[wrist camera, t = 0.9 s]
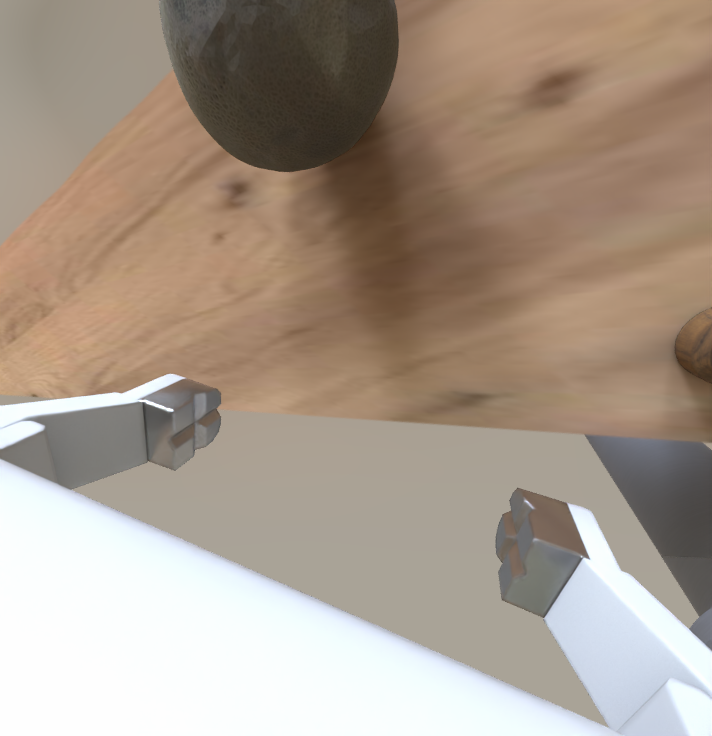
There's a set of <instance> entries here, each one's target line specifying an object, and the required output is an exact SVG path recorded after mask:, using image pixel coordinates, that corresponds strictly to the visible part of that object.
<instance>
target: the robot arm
mask: <svg viewBox="0 0 712 736" xmlns="http://www.w3.org/2000/svg"><path fill="white" fill-rule="evenodd" d="M220 404H221V393H220V392H219V391H218V389H216V388H213V387H210V386H207V385H204V384H202V383H199V382H196V381H193V380H190V379H187V378H185V377H181V376H178V375H175V374H167V375H165V376H162V377H160V378H158V379H155V380H153V381H151V382H149V383H146V384H144V385H142V386H139V387H137V388H135V389H132V390H130V391H128V392H125V393H123V394H120V393H109V394H100V395H91V396H82V397H74V398H65V399H56V400H47V401H39V402H30V403H21V404H12V405H4V406H0V736H712V650H711V649H710V648H708V647H707V646H706V645H705V644H704V643H703V642H702V641H701V640H700V639H699V638H698V637H697V636H696V635H695V634H693V633H692V632H691V631H690V630H689V629H688V628H687V627H686V626H685V625H684V624H683V623H682V622H680V621H679V620H678V619H677V618H676V617H675V616H674V615H673V614H672V613H671V612H670V611H669V610H668V609H667V608H666V607H664V606H663V605H662V604H661V603H660V602H659V601H658V600H657V599H656V598H655V597H654V596H653V595H652V594H651V593H649V592H648V591H647V590H646V589H645V588H644V587H643V586H642V585H641V584H640V583H639V582H638V581H636V579H634V578H633V577H632V576H631V575H630V574H628V573H625V572H622V571H621V570H620V567H619V566H618V564H617V562H616V559H615V557H614V556H613V553H612V551H611V549H610V547H609V545H608V543H607V541H606V539H605V537H604V535H603V533H602V531H601V529H600V527H599V526H598V523H597V521H596V519H595V517H594V515H593V513H592V512H591V511H590V510H589V509H587V508H584V507H580V506H577V505H574V504H570V503H567V502H562V501H559V500H556V499H552V498H549V497H546V496H543V495H539V494H536V493H533V492H530V491H526V490H523V489H520V488H517V489H516V490H515V491H514V492H513V494H512V496H511V498H510V506H511V511H509V512H507V513H505V514H503V515H502V518H501V520H500V522H499V525H498V529H497V534H496V554H497V556H498V558H499V559H500V560H501V562H502V563H503V564H502V566H501V568H500V570H499V572H498V573H499V581H500V589H501V598H502V600H503V601H505V602H508V603H510V604H512V605H515V606H517V607H520V608H522V609H524V610H526V611H529V612H532V613H534V614H536V615H538V616H541V617H543V618H544V619H543V620H544V622H545V623H546V625H547V627H548V628H549V630H550V632H551V633H552V635H553V636H554V638H555V640H556V641H557V643H558V645H559V646H560V648H561V650H562V651H563V653H564V654H565V656H566V658H567V659H568V661H569V663H570V664H571V666H572V667H573V669H574V671H575V673H576V674H577V676H578V677H579V679H580V681H581V682H582V684H583V686H584V687H585V689H586V690H587V692H588V694H589V695H590V697H591V699H592V700H593V702H594V704H595V705H596V707H597V708H598V710H599V712H600V713H601V715H602V717H603V718H604V720H605V722H606V723H607V725H608V727H609V728H608V727H605V726H603V725H601V724H598V723H596V722H594V721H592V720H590V719H587V718H585V717H583V716H581V715H578V714H576V713H574V712H572V711H569V710H567V709H565V708H562V707H560V706H558V705H556V704H553V703H551V702H549V701H547V700H544V699H542V698H540V697H538V696H535V695H533V694H531V693H528V692H526V691H524V690H522V689H519V688H517V687H515V686H513V685H510V684H508V683H506V682H504V681H502V680H499V679H497V678H495V677H493V676H490V675H488V674H486V673H483V672H481V671H479V670H477V669H474V668H472V667H470V666H468V665H465V664H463V663H461V662H459V661H456V660H454V659H452V658H450V657H447V656H445V655H443V654H441V653H438V652H436V651H434V650H432V649H429V648H427V647H425V646H422V645H420V644H418V643H416V642H413V641H411V640H409V639H407V638H404V637H402V636H400V635H398V634H395V633H393V632H391V631H389V630H386V629H384V628H382V627H379V626H377V625H375V624H373V623H370V622H368V621H366V620H364V619H361V618H359V617H357V616H355V615H352V614H350V613H348V612H346V611H343V610H341V609H339V608H337V607H334V606H332V605H330V604H328V603H325V602H323V601H321V600H318V599H316V598H314V597H312V596H310V595H307V594H305V593H303V592H301V591H298V590H296V589H293V588H291V587H289V586H287V585H285V584H282V583H280V582H278V581H275V580H273V579H271V578H269V577H267V576H264V575H262V574H260V573H258V572H255V571H253V570H251V569H249V568H246V567H244V566H242V565H239V564H237V563H235V562H233V561H230V560H228V559H226V558H224V557H221V556H219V555H217V554H215V553H212V552H210V551H208V550H205V549H203V548H201V547H199V546H196V545H194V544H192V543H190V542H188V541H185V540H183V539H181V538H179V537H176V536H174V535H172V534H169V533H167V532H165V531H163V530H160V529H158V528H156V527H153V526H151V525H149V524H147V523H144V522H142V521H140V520H138V519H136V518H133V517H131V516H129V515H127V514H124V513H122V512H120V511H118V510H115V509H113V508H111V507H109V506H106V505H104V504H102V503H99V502H97V501H95V500H93V499H90V498H88V497H86V496H84V495H81V494H79V493H77V492H74V491H72V490H71V489H74V488H77V487H79V486H82V485H85V484H88V483H91V482H94V481H97V480H99V479H102V478H105V477H108V476H111V475H114V474H116V473H119V472H122V471H125V470H128V469H131V468H133V467H136V466H139V465H142V464H145V463H147V462H148V461H149V462H152V463H155V464H158V465H161V466H163V467H166V468H169V469H172V470H174V471H175V470H177V469H178V468H179V467H181V466H182V465H183V464H185V463H186V462H187V461H188V460H190V459H191V458H192V457H193V456H194V452H195V450H196V449H200V448H204V447H206V446H207V445H209V444H210V443H211V442H212V441H213V440H214V438H215V437H216V435H217V433H218V432H219V428H220V424H221V416H220V414H219V413H218V411H217V409H216V408H217V407H218V406H219V405H220Z"/></svg>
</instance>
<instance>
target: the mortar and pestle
mask: <svg viewBox="0 0 712 736" xmlns="http://www.w3.org/2000/svg"><path fill="white" fill-rule="evenodd" d="M675 353H676V357H677V359H678V361H679V363H680V364H681V365H682V366H683V367H684V368H685V369H686V370H687V371H689V372H690V373H692V374H694V375H696V376H698V377H699V378H701V379H703V380H705V381H707V382H709V383H712V308H710V309H707V310H705V311H703V312H701V313H700V314H698V315H696V316H695V317H694V318H692V319H691V320H690V321H689V322H688V323H687V324H686V325H685V326H684V327H683V328H682V330H681V331H680V333H679V334H678V337H677V339H676V344H675Z"/></svg>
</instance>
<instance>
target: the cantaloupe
mask: <svg viewBox="0 0 712 736" xmlns="http://www.w3.org/2000/svg"><path fill="white" fill-rule="evenodd" d="M159 8H160V14H161V22H162V29H163V34H164V38H165V41H166V45H167V49H168V52H169V56H170V60H171V63H172V66H173V69H174V72H175V74H176V77H177V80H178V82H179V85H180V87H181V89H182V92H183V94H184V96H185V98H186V100H187V102H188V104H189V106H190V108H191V110H192V111H193V113H194V114H195V116H196V117H197V119H198V120H199V121H200V123H201V124H202V125H203V127H204V128H205V129H206V131H207V132H208V133H209V134H210V135H211V136H212V138H213V139H214V140H215V141H216V142H217V143H218V144H219V145H220V146H221V147H222V148H223V149H225V150H226V151H227V152H229V153H230V154H231V155H233V156H234V157H236V158H237V159H239V160H241V161H243V162H245V163H247V164H249V165H252V166H254V167H258V168H263V169H268V170H274V171H279V172H294V171H300V170H306V169H311V168H315V167H318V166H321V165H323V164H325V163H327V162H329V161H331V160H333V159H334V158H336V157H338V156H340V155H341V154H343V153H345V152H346V151H348V150H349V149H350V148H352V147H353V146H354V145H355V144H356V142H357V141H358V140H359V139H360V138H361V137H362V135H363V134H364V133H365V132H366V130H367V129H368V128H369V126H370V125H371V123H372V121H373V120H374V118H375V116H376V115H377V113H378V111H379V109H380V107H381V106H382V104H383V102H384V100H385V98H386V96H387V93H388V91H389V88H390V86H391V83H392V79H393V76H394V72H395V68H396V63H397V58H398V43H399V39H398V21H397V10H396V5H395V2H394V0H159Z"/></svg>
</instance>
